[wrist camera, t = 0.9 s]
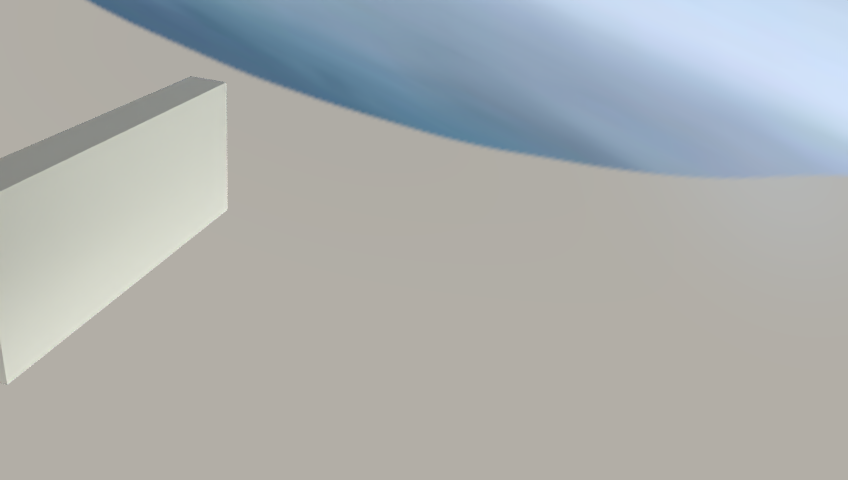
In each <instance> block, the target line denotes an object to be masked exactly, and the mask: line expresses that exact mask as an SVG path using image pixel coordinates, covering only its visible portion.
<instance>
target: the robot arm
mask: <svg viewBox="0 0 848 480" xmlns="http://www.w3.org/2000/svg"><path fill="white" fill-rule="evenodd" d="M226 94H227V91H226V82H221V81H216V80H210V79H204V78H198V77H189V78H186V79H184V80H182V81H179V82H177V83H174V84H172V85H170V86H167V87H165V88H163V89H160V90H158V91H156V92H154V93H151V94H149V95H147V96H144V97H142V98H140V99H137V100H135V101H133V102H130V103H128V104H126V105H123V106H121V107H119V108H116V109H114V110H112V111H109V112H107V113H105V114H102V115H100V116H98V117H95V118H93V119H91V120H89V121H86V122H84V123H82V124H79V125H77V126H75V127H72V128H70V129H68V130H65V131H63V132H61V133H58V134H56V135H54V136H51V137H49V138H47V139H44V140H42V141H40V142H38V143H35V144H33V145H31V146H28V147H26V148H24V149H21V150H19V151H17V152H14V153H12V154H10V155H7V156H5V157H3V158H0V383H2V384H6V385H8V384H9V383H10V382H12V381H13V380H14V379H15V378H17V377H18V376H19V375H20V374H22V373H23V372H24V371H25V370H27V369H28V368H29V367H30V366H32V365H33V364H34V363H35V362H36V361H38V360H39V359H40V358H42V357H43V356H44V355H45V354H47V353H48V352H49V351H50V350H52V349H53V348H54V347H55V346H57V345H58V344H59V343H60V342H62V341H63V340H64V339H66V338H67V337H68V336H69V335H70V334H72V333H73V332H74V331H76V330H77V329H78V328H79V327H80V326H82V325H83V324H84V323H86V322H87V321H88V320H89V319H90V318H92V317H93V316H94V315H96V314H97V313H98V312H99V311H101V310H102V309H103V308H105V307H106V306H107V305H108V304H110V303H111V302H112V301H113V300H115V299H116V298H117V297H118V296H119V295H121V294H122V293H123V292H125V291H126V290H127V289H128V288H130V287H131V286H132V285H133V284H135V283H136V282H137V281H138V280H140V279H141V278H142V277H143V276H145V275H146V274H147V273H148V272H150V271H151V270H152V269H153V268H155V267H156V266H157V265H159V264H160V263H161V262H162V261H164V260H165V259H166V258H167V257H169V256H170V255H171V254H172V253H174V252H175V251H176V250H177V249H178V248H180V247H181V246H182V245H183V244H185V243H186V242H187V241H189V240H190V239H191V238H192V237H194V236H195V235H196V234H197V233H199V232H200V231H201V230H203V229H204V228H205V227H206V226H207V225H209V224H210V223H211V222H213V221H214V220H215V219H216V218H218V217H219V216H220V215H221V214H222V213H224V212H225V211H226V210H227V209H228V205H227V99H226V98H227V95H226Z"/></svg>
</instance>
